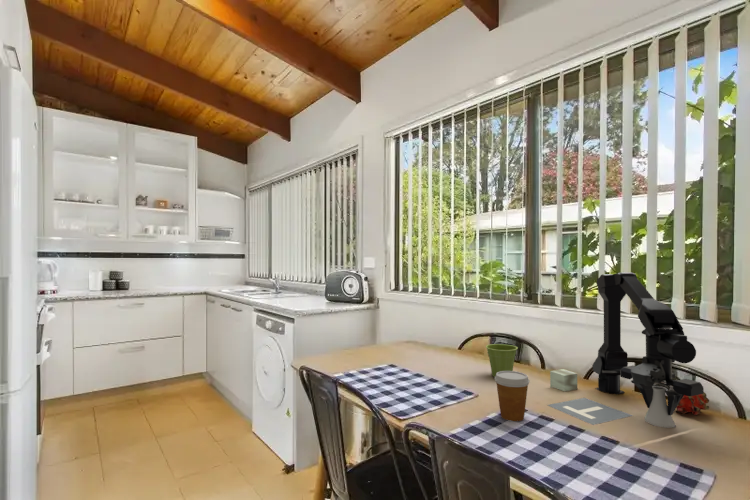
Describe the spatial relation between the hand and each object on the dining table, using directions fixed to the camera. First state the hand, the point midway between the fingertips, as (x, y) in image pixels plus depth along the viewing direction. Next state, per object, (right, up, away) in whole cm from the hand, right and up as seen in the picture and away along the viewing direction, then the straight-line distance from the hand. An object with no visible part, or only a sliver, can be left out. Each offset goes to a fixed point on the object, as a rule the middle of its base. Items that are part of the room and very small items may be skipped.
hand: (659, 411), depth 110 cm
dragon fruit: (+14, -4, +8) cm, 17 cm away
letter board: (-15, -4, +9) cm, 18 cm away
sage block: (-12, -4, +30) cm, 32 cm away
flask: (0, -4, 0) cm, 4 cm away
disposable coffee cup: (-38, -4, +6) cm, 39 cm away
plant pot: (-29, -5, +45) cm, 54 cm away
